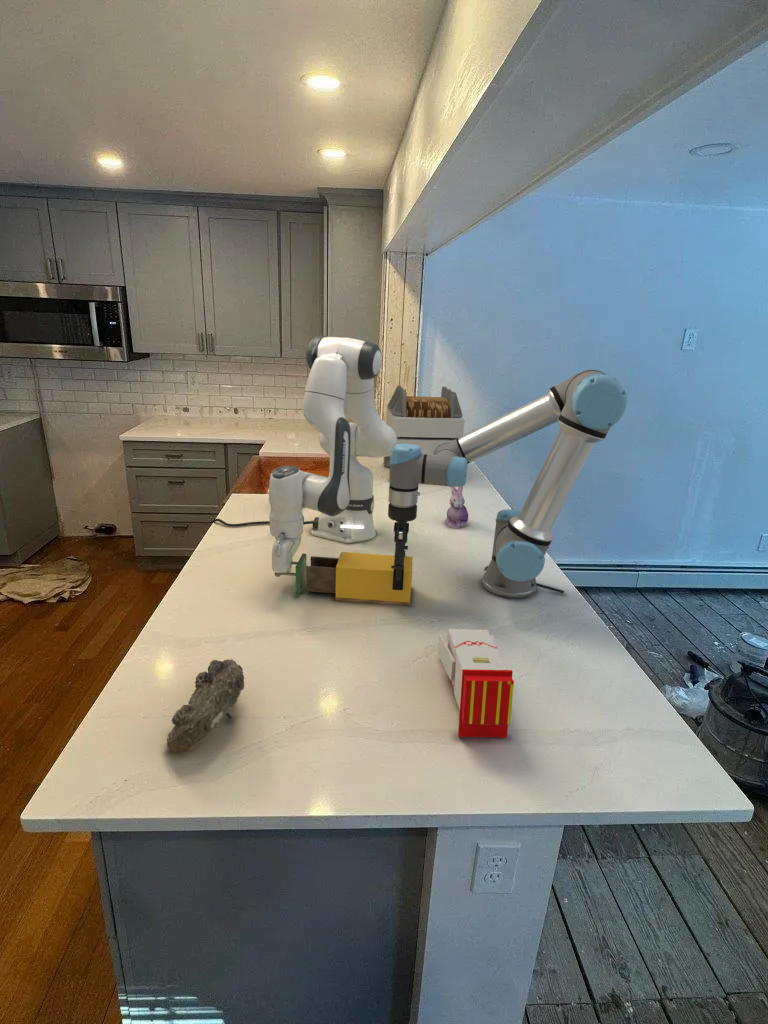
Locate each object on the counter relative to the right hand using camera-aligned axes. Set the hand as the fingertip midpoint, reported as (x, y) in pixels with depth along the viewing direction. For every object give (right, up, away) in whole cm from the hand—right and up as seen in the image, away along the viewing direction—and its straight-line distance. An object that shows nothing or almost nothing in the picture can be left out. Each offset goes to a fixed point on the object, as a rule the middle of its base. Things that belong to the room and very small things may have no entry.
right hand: (398, 580), depth 155 cm
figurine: (+23, +14, +56) cm, 62 cm away
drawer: (-21, -2, +2) cm, 21 cm away
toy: (+14, -19, -37) cm, 43 cm away
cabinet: (-7, -4, +2) cm, 8 cm away
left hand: (-31, +2, +2) cm, 31 cm away
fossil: (-37, -20, -47) cm, 63 cm away
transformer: (+13, +38, +120) cm, 126 cm away
